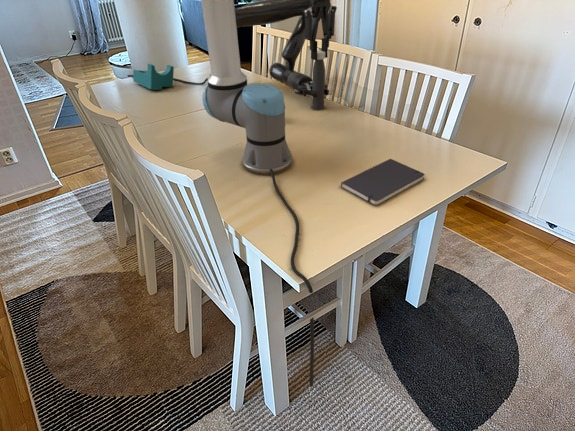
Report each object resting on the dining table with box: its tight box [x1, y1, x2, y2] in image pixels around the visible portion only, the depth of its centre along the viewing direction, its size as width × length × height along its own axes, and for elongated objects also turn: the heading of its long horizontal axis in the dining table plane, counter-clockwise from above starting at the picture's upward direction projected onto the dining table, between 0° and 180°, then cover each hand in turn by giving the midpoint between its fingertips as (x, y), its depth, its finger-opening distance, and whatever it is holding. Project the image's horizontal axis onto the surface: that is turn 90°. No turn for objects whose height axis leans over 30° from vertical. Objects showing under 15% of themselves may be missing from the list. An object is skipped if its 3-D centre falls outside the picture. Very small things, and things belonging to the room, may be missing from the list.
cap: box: [317, 50, 326, 60], centre depth 151 cm, size 4×4×2 cm
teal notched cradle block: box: [132, 63, 175, 91], centre depth 189 cm, size 18×11×10 cm, turn 43°
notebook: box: [340, 158, 425, 206], centre depth 114 cm, size 13×2×21 cm
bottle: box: [311, 59, 326, 111], centre depth 157 cm, size 5×5×21 cm
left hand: (322, 94), depth 158 cm, fingers closed on bottle, 4 cm apart
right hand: (319, 58), depth 152 cm, fingers closed on cap, 4 cm apart
